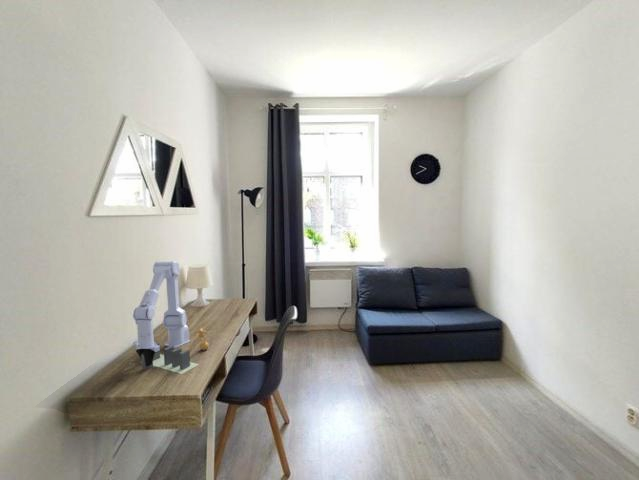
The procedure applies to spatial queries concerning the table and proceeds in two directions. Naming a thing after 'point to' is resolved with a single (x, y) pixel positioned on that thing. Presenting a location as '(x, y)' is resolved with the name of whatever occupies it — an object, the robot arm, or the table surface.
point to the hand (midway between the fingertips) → (147, 364)
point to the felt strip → (177, 369)
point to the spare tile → (145, 363)
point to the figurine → (204, 344)
